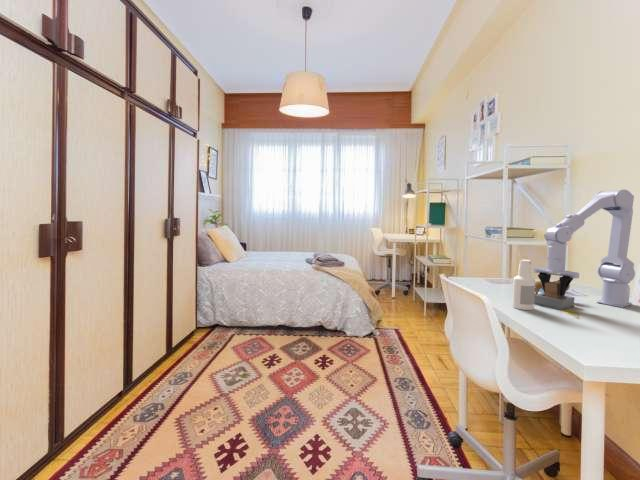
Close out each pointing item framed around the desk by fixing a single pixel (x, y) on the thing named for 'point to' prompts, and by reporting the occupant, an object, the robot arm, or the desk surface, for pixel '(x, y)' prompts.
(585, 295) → the desk surface
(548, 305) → the square well
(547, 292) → the walnut block
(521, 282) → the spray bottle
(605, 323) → the desk surface
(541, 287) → the lion figurine
